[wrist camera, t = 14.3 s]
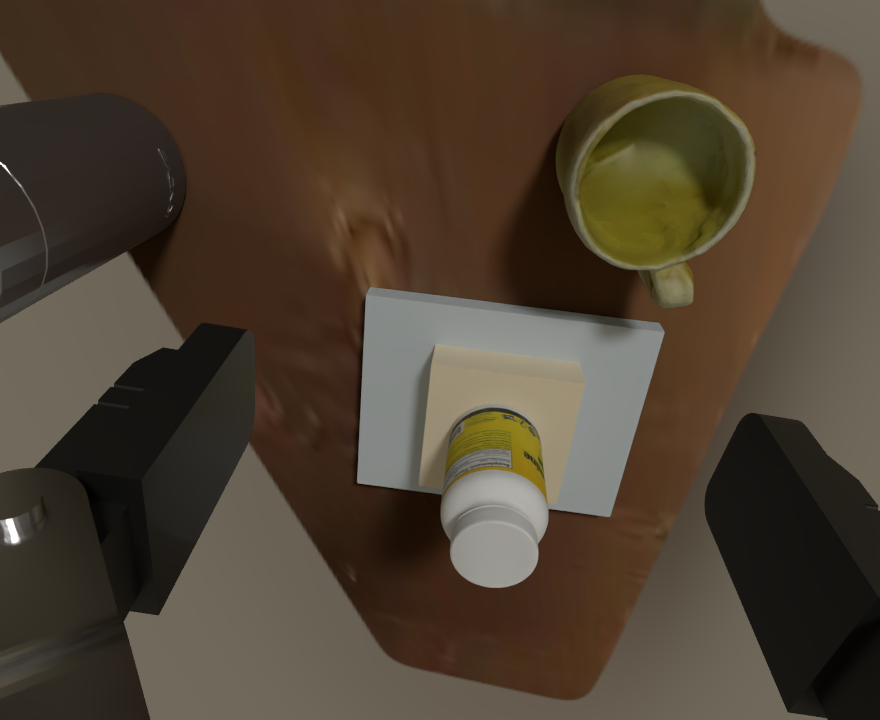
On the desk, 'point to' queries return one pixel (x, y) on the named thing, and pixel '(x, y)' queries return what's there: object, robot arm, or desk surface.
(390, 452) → the board
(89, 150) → the robot arm
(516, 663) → the desk surface
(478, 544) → the pill bottle
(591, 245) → the mug
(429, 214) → the desk surface
